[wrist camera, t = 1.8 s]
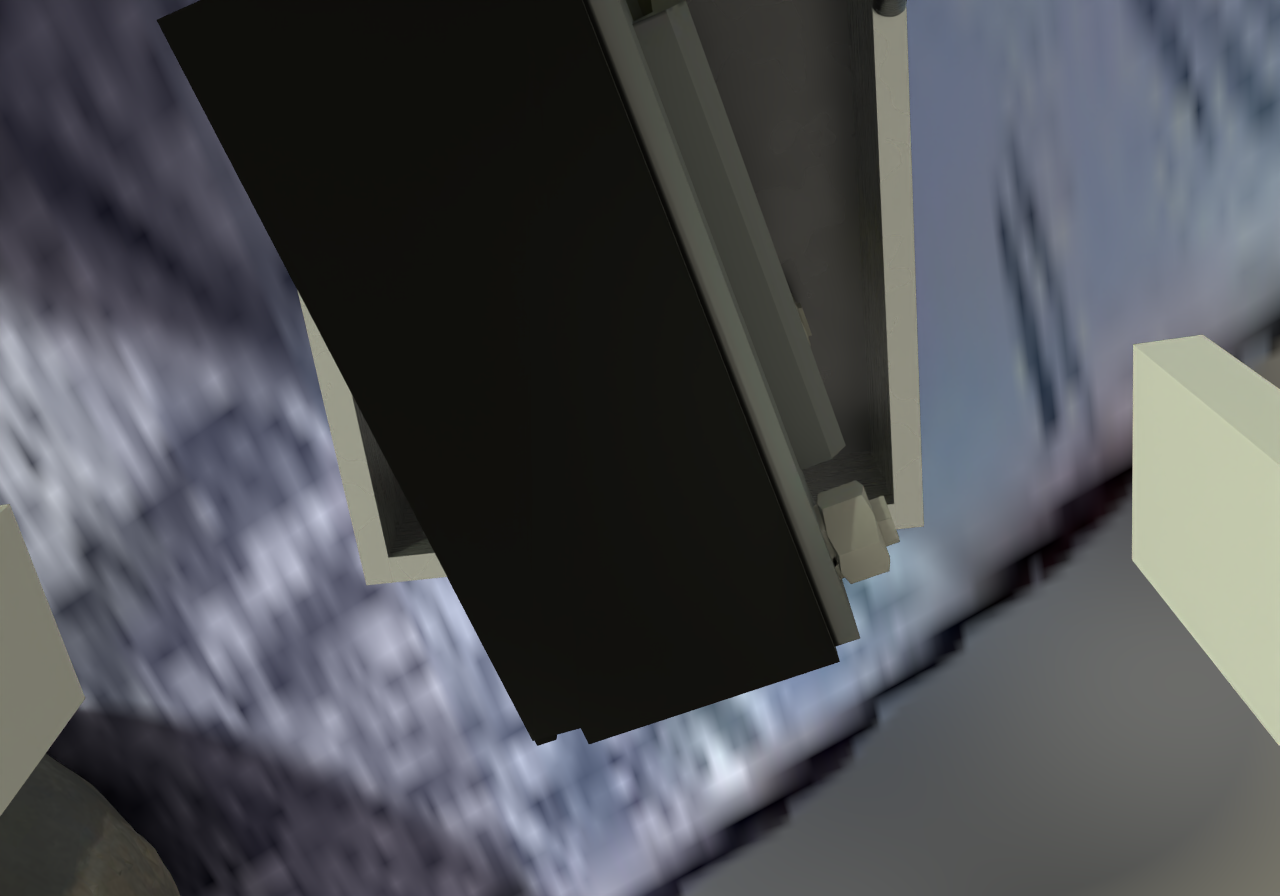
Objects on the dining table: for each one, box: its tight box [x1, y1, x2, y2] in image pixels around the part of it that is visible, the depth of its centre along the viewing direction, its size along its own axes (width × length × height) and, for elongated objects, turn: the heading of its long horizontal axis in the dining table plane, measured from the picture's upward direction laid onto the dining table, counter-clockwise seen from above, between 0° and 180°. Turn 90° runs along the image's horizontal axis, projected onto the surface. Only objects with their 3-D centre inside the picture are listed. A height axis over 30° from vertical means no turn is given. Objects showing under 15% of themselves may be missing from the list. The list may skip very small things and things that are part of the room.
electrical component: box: [157, 0, 900, 746], centre depth 34 cm, size 18×10×20 cm, turn 22°
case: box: [298, 0, 924, 585], centre depth 28 cm, size 20×31×30 cm, turn 7°
